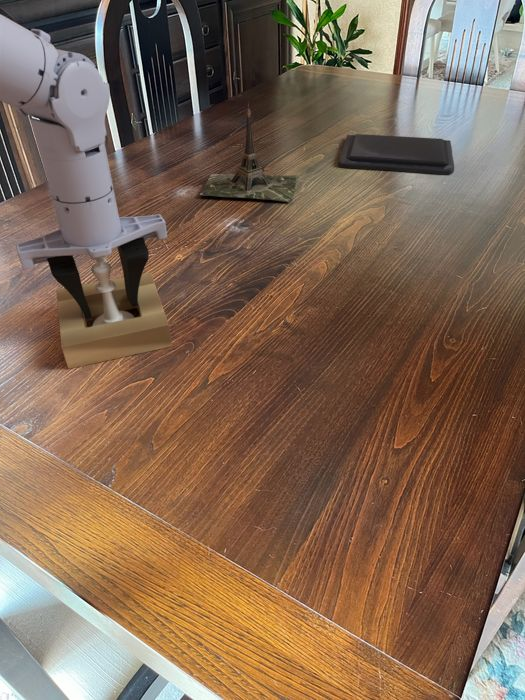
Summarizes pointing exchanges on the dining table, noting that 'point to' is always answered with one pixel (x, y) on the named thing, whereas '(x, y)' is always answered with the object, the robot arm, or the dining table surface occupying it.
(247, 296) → the dining table surface
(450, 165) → the black flat block
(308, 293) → the dining table surface
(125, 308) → the socket
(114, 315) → the chess piece
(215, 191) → the eiffel tower figurine
